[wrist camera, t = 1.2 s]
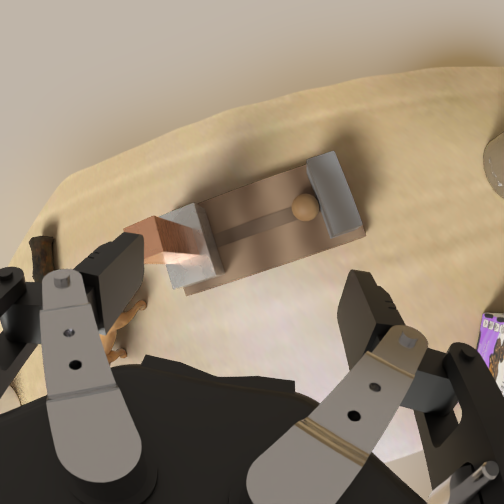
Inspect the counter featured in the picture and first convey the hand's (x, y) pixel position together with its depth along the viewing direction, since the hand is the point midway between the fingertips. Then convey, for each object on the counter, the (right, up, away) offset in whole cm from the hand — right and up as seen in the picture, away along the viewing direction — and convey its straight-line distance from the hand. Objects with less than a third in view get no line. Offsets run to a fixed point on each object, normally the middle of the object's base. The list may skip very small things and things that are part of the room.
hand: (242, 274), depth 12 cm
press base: (+2, +4, +27) cm, 27 cm away
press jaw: (-6, +1, +26) cm, 26 cm away
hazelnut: (+6, +6, +24) cm, 25 cm away
